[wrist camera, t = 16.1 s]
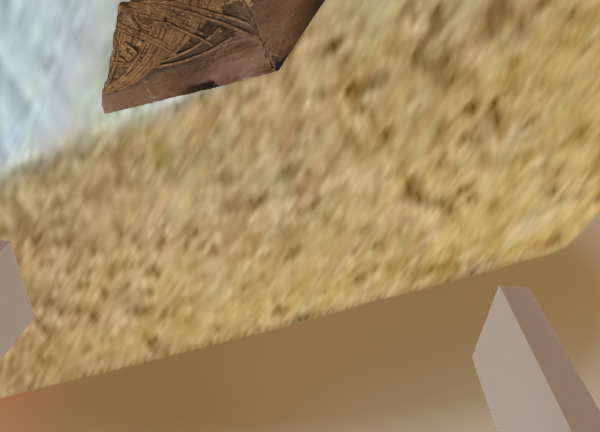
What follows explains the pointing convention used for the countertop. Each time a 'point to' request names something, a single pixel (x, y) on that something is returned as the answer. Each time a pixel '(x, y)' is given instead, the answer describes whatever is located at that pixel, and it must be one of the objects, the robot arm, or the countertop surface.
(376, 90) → the countertop surface
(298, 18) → the wooden fragment
